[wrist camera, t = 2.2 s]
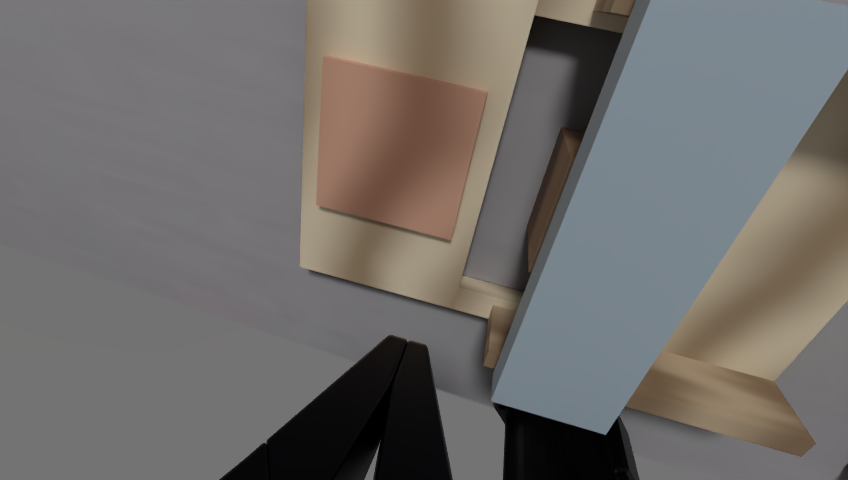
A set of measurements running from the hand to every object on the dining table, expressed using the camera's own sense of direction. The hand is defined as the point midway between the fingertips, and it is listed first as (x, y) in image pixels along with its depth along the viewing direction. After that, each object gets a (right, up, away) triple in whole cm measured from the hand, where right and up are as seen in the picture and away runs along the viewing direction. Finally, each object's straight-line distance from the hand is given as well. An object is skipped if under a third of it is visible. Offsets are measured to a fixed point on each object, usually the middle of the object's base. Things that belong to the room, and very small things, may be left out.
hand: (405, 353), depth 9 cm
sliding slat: (+7, +2, +6) cm, 10 cm away
